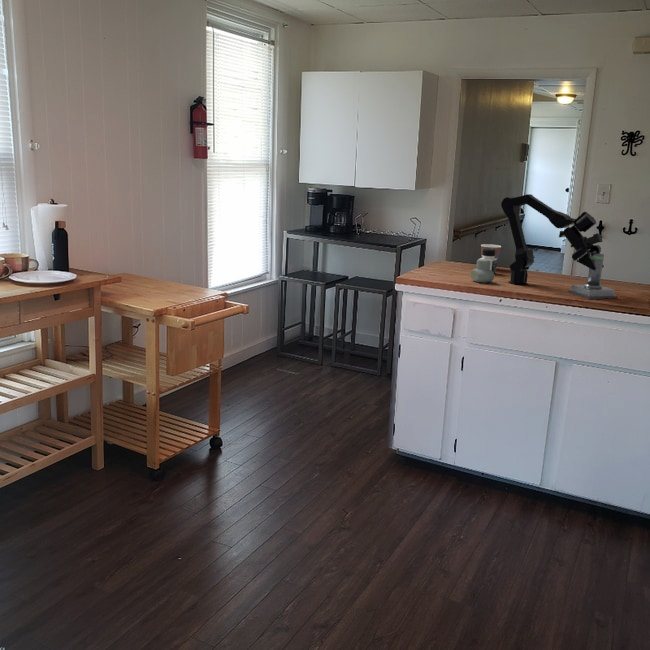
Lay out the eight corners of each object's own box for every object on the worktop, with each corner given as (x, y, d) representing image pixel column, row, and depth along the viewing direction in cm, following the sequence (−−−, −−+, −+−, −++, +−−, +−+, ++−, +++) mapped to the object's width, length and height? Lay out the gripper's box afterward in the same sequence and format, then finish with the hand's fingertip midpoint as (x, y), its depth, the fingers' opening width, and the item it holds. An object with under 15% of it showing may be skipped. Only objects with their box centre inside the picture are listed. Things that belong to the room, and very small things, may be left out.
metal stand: (588, 299, 275) (589, 290, 274) (567, 292, 288) (568, 284, 287) (617, 298, 279) (618, 290, 278) (595, 291, 292) (596, 283, 291)
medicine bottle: (491, 274, 325) (493, 250, 323) (477, 273, 329) (479, 248, 326) (496, 273, 331) (498, 248, 328) (482, 271, 335) (484, 247, 332)
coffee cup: (501, 271, 339) (503, 247, 336) (480, 270, 339) (483, 246, 336) (496, 267, 349) (498, 244, 346) (476, 267, 349) (478, 243, 346)
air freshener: (495, 283, 302) (498, 261, 299) (479, 284, 299) (481, 261, 297) (483, 279, 312) (485, 258, 309) (467, 279, 309) (469, 258, 307)
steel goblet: (585, 287, 280) (589, 254, 277) (583, 285, 287) (587, 252, 283) (602, 289, 278) (607, 255, 275) (600, 286, 285) (605, 253, 282)
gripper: (583, 228, 272) (607, 258, 268) (599, 225, 286) (622, 254, 282) (561, 245, 279) (584, 275, 275) (578, 242, 293) (600, 270, 288)
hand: (599, 268), depth 280 cm, fingers open, 9 cm apart
